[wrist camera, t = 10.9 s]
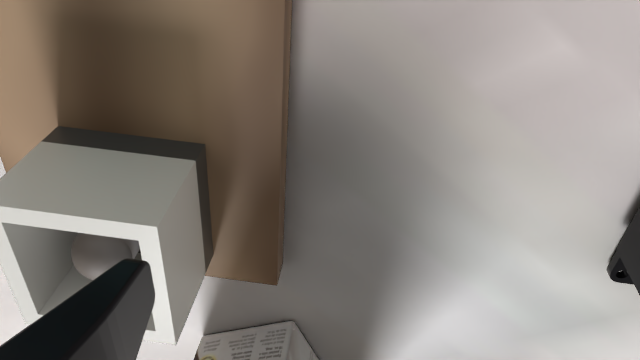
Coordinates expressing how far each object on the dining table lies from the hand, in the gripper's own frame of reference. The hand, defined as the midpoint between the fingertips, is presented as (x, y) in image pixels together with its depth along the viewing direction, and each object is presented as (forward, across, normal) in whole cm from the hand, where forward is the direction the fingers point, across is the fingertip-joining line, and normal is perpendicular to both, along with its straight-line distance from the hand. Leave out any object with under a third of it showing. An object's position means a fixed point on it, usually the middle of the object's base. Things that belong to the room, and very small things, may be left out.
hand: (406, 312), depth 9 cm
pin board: (+12, +10, 0) cm, 16 cm away
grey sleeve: (+10, +10, +7) cm, 16 cm away
